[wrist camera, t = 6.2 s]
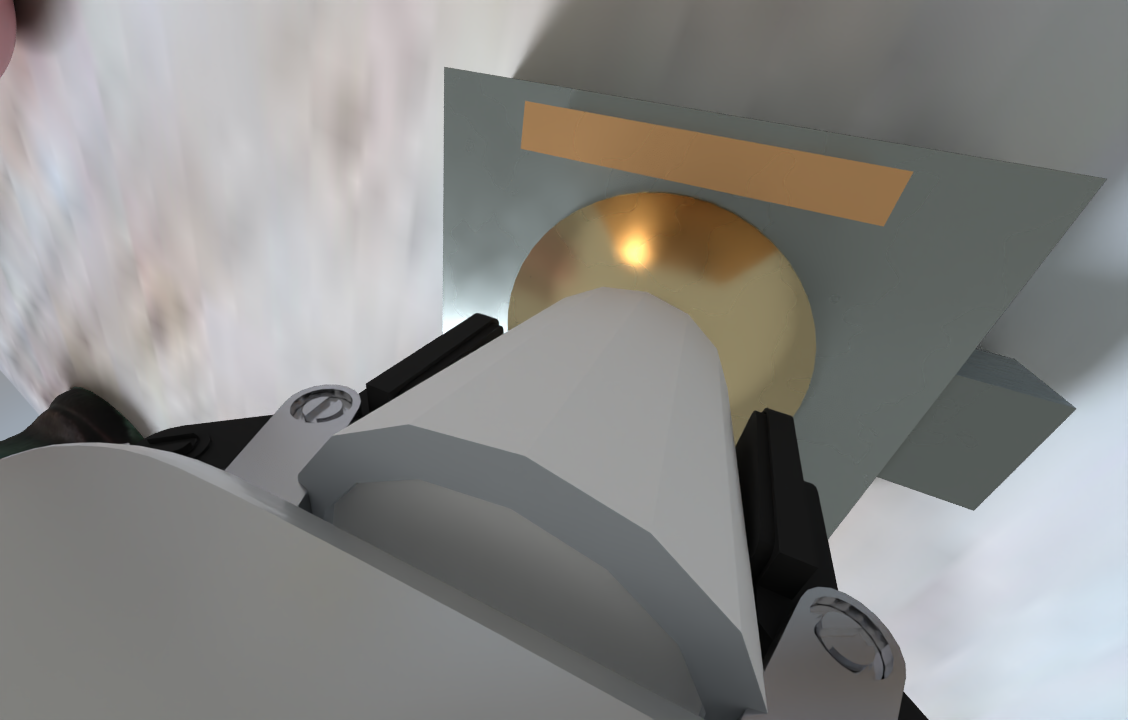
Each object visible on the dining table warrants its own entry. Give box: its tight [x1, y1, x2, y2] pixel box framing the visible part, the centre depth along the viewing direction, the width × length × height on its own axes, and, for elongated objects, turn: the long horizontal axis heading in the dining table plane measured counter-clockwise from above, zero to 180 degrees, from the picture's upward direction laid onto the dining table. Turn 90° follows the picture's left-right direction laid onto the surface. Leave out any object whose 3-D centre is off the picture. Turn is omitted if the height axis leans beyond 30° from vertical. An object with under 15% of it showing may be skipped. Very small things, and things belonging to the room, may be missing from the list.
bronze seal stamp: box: [0, 387, 144, 459], centre depth 45 cm, size 20×20×9 cm
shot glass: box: [298, 287, 768, 720], centre depth 8 cm, size 7×7×7 cm
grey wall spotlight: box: [443, 67, 1107, 539], centre depth 14 cm, size 14×19×6 cm
